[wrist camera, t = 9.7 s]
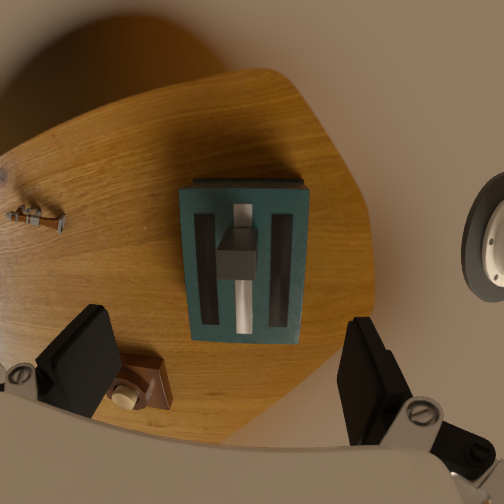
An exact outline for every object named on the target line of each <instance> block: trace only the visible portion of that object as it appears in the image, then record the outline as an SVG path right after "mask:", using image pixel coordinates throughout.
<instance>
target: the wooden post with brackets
mask: <svg viewBox="0 0 504 504" xmlns="http://www.w3.org/2000/svg"><path fill="white" fill-rule="evenodd" d="M23 212H25V205H21V206H19V207H18V209H17V210H16V211H15V212H13V211H11V212H10V213H7V214H6V218H7V219H9V221H15V222H18V221H21V222H26V224H29V223H30V225H37V226H39V225H43V226H46V227H50V228H53V229H56V230H58V234H61V232H62V231H63V229H64V220H65V215H62V216H61V217H60V218H44V217H41V216H38V215H41V211H40V210H39V208H32V206H31V207H30V208H29V209H28V208H27V209H26V213H28V215H25V214H23Z"/></svg>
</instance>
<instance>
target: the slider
mask: <svg viewBox="0 0 504 504" xmlns="http://www.w3.org/2000/svg"><path fill="white" fill-rule="evenodd" d="M258 232H259V229H258V228H227V229H226V231H225V233H224V235H223V237H222V239H221V241H220V243H219V245H218V247H217V249H216V259H217V279H218V280H250V281H255V280H256V273H257V262H258Z"/></svg>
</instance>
